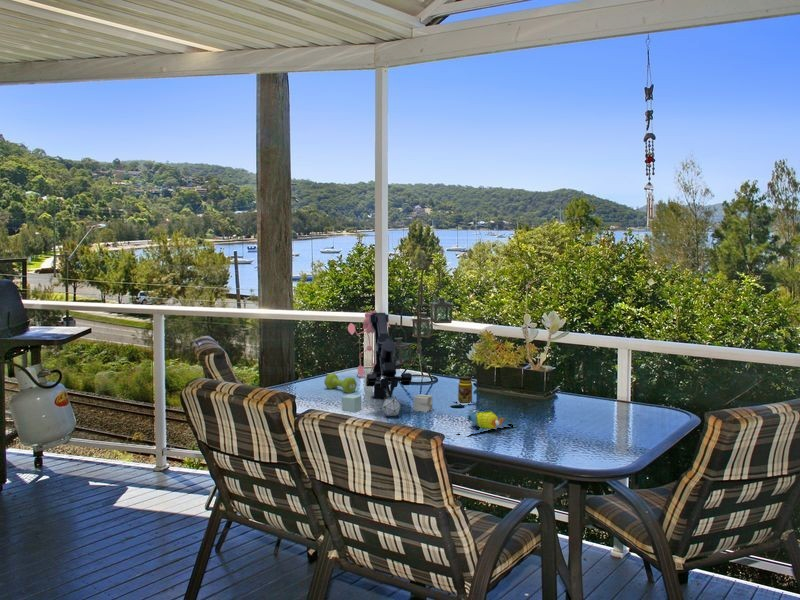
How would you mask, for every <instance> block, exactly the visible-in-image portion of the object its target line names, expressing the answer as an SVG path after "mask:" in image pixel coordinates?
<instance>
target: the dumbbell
mask: <svg viewBox="0 0 800 600" xmlns="http://www.w3.org/2000/svg"><path fill="white" fill-rule="evenodd" d="M323 383H324V385H325V387H326V389H327V388H328V390H334V389H337V388H338V387H341V389H342V390H343V392H344V393H345V394H352V393H354V392H355V391H356V388H357V386H358V384H357V381H356V379H355V378H354V377H352V376H351V377H350V376H347V377H345V378H344V379H343V380H341V379H339V376H338V375H337V373H328V374H327V375H326V376H325V379H324V382H323ZM333 388H334V389H333Z"/></svg>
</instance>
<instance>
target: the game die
mask: <svg viewBox="0 0 800 600" xmlns="http://www.w3.org/2000/svg"><path fill="white" fill-rule="evenodd" d="M383 400H384V401H383V404H382V406H381V407H379V408H380V410H382V412H384V414H385V415H386V417H385V418H387V419H388V417H394V416H395V417H396V416H397V417H398V418H399V415H398V414H399V412H400V409H401V407H403V406H404V405H403V404H401V403H399V401H398V400H397V396H395V397H389V398H385V397H384V399H383Z"/></svg>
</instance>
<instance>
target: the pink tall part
mask: <svg viewBox="0 0 800 600" xmlns="http://www.w3.org/2000/svg"><path fill="white" fill-rule="evenodd" d="M372 313H378V312H377V309H373V310H370V311H369V312H365V313H364V317H365V318H364V319H363V320H362V321H363V325H362V329H363V331H361V332H359V333H358V332H357V330H356V327H355V324H353V323H352V322H350V323H349V324H348V326H347V331H348V333H349V334H350V335H351V336H353V335H354V333H355V334H356V335H357V336H359V335H360V334H363V333H365V332H366V335H367V338H368V339H367V340H368V344H369V345H367V347H366V350H365V349H364V351H362V352H360V353H359V356H361V354H363V353H365V352H367V351H369V352H370V351H372V352H373V354H375V351H374V349H373V347H372V345H371V340H370V335H369V334H370V333H371V334H375V332H374V331H373V329H372V328H371V323H370V321H369V316H370V315H372ZM387 328H391V326H390V324H389V322H388V323H387ZM359 364H360V365H358V367H357V374H356V377H359V376H360V378H363V377H364V376H365V368H364V366H363V365H362V359H361V357H359ZM375 364H376V363H375V362H372V366H371V369H370V372H369V374H371V373H372V372H373V368H374V366H375Z"/></svg>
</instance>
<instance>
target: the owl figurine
mask: <svg viewBox="0 0 800 600" xmlns="http://www.w3.org/2000/svg"><path fill="white" fill-rule="evenodd" d="M466 419H467V422H472V423H473V424H474V425H475V426H477V427H478V426H479V427H480V428H483V429H494V428H496V426H499V427H500V428H501V425H502V423H503V421H504V420H505V417H503V416H502V417H500V418H499V417H498V415H497V414H495V412H493V411H492V410H491V409H487V408H486V409H485V408H484V409H475V410H472V411H471V412H470V413H469V414H467V418H466ZM479 427H478V428H479ZM480 428H479V429H480ZM495 430H498V429H497V428H496V429H495Z"/></svg>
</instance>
